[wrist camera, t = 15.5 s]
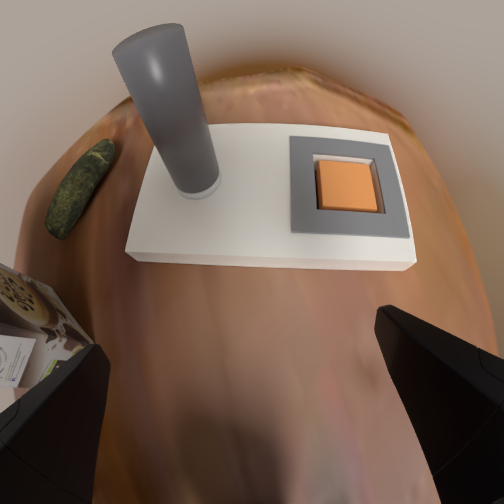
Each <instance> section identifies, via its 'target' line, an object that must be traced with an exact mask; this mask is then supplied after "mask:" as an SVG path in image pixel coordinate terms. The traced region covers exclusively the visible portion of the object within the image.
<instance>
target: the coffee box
mask: <svg viewBox="0 0 504 504" xmlns="http://www.w3.org/2000/svg"><path fill="white" fill-rule="evenodd" d="M88 344H94V342H93V341H92V340H91V339H90V337H89V336H88V335H87V334H86V333H85V331H84V330H83V329H82V328H81V326H80V325H79V324H78V323H77V321H76V320H75V319H74V318H73V316H72V315H71V314H70V312H69V311H68V310H67V308H66V307H65V306H64V304H63V303H62V302H61V300H60V299H59V297H58V296H57V295H56V293H55V292H54V290H53V289H52V287H50V286H48V285H46V284H43V283H41V282H39V281H37V280H35V279H32V278H30V277H28V276H26V275H24V274H21V273H20V272H17V271H15V270H13V269H11V268H9V267H7V266H5V265H3V264H1V263H0V387H18V388H33V387H34V386H35V385H36V384H38V383H39V382H40V381H41V380H43V379H44V378H45V377H46V376H48V375H49V374H50V373H52V372H53V371H54V370H55V369H57V368H58V367H59V366H60V365H62V364H63V363H64V362H66V361H67V360H68V359H69V358H71V357H72V356H73V355H75V354H76V353H77V352H78V351H80V350H81V349H82V348H84V347H85V346H86V345H88Z"/></svg>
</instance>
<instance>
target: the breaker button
mask: <svg viewBox="0 0 504 504" xmlns="http://www.w3.org/2000/svg"><path fill="white" fill-rule="evenodd" d="M316 175H317V188H318V203H319V210H337V211H353V212H367V213H375V212H376V211H377V205H376V199H375V193H374V188H373V182H372V177H371V172H370V168H369V165H367V164H357V163H347V162H336V161H323V160H319V164H318V168H317V173H316Z"/></svg>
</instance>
